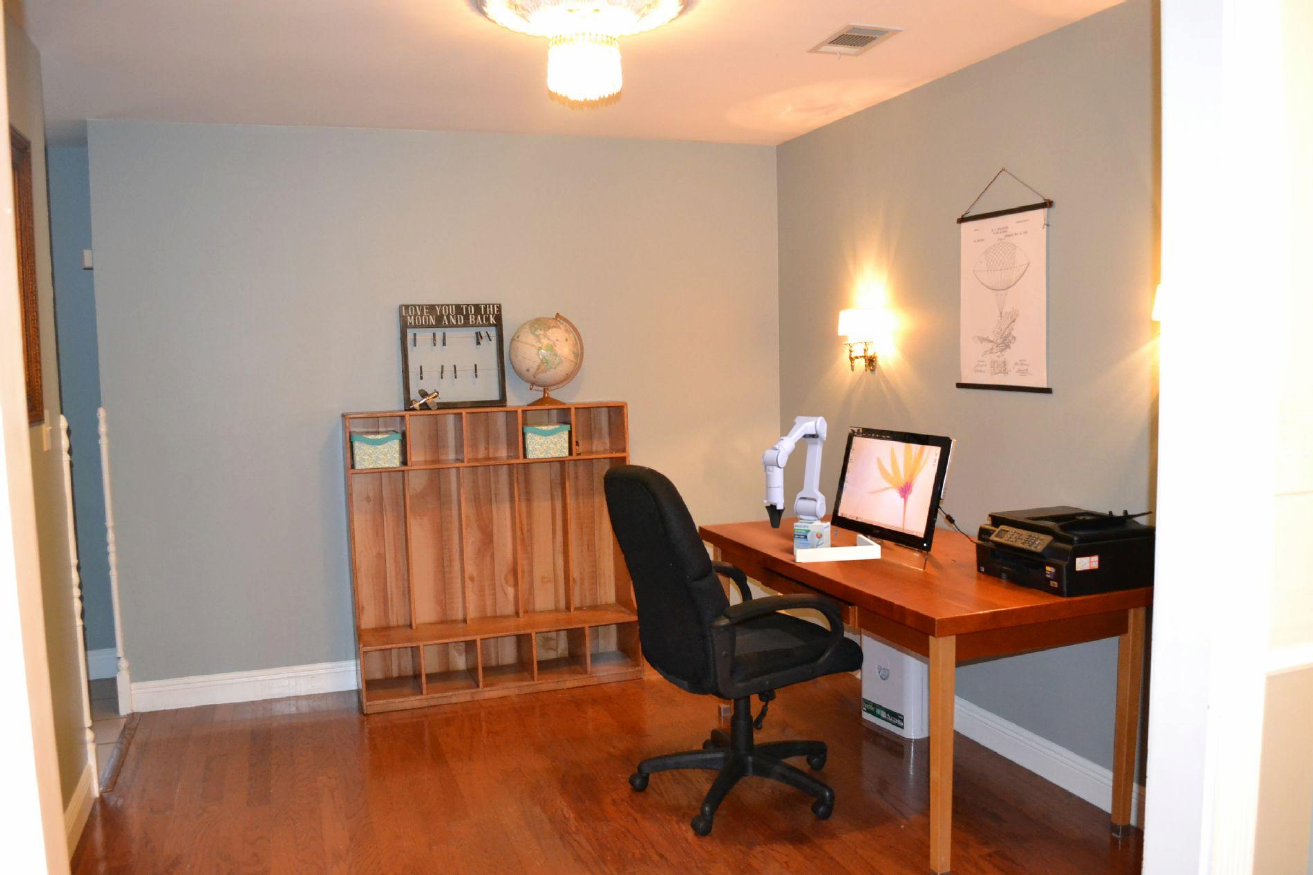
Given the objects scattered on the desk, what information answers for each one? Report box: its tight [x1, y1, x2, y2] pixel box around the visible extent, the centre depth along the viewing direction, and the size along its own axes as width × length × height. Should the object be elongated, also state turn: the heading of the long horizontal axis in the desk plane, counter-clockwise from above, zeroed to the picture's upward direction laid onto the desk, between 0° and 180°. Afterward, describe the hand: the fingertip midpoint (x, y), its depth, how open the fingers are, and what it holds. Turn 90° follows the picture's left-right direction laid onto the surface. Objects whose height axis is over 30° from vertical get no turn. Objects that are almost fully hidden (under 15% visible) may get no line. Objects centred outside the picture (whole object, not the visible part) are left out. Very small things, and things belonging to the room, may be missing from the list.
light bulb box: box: [793, 520, 831, 556], centre depth 330 cm, size 11×7×11 cm, turn 62°
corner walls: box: [794, 534, 882, 563], centre depth 331 cm, size 20×28×4 cm
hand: (775, 527), depth 330 cm, fingers closed
